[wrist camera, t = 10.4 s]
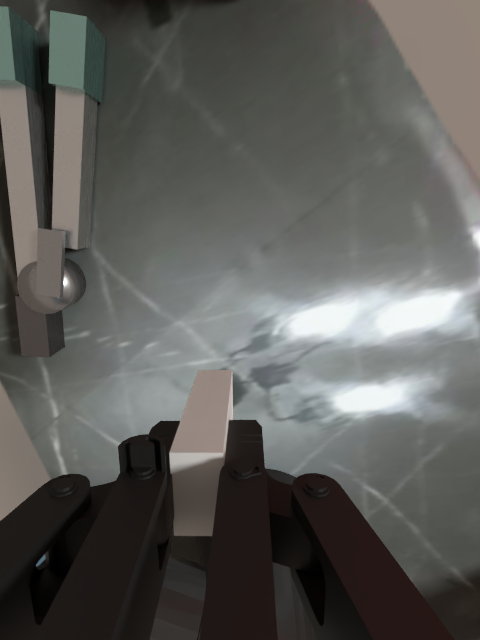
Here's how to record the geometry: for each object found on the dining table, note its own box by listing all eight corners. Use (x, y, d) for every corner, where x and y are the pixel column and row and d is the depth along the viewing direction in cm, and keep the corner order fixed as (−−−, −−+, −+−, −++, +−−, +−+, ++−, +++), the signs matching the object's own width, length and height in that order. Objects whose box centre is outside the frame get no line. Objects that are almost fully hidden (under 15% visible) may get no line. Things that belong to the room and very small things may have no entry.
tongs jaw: (91, 292, 40) (73, 300, 36) (57, 286, 40) (35, 294, 36) (105, 38, 34) (86, 16, 30) (65, 32, 34) (41, 8, 30)
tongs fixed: (89, 347, 42) (72, 362, 38) (36, 345, 42) (13, 359, 38) (70, 32, 34) (45, 8, 30) (5, 30, 34) (-28, 5, 30)
